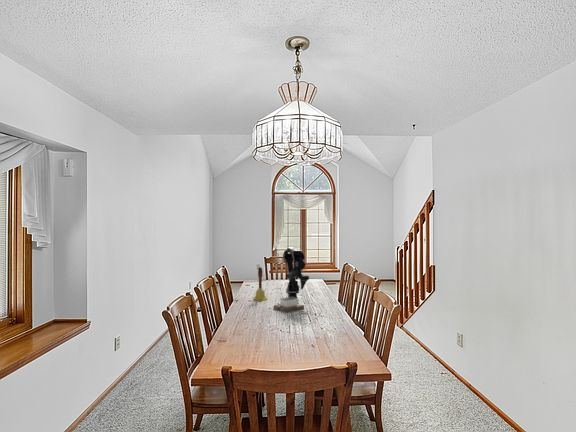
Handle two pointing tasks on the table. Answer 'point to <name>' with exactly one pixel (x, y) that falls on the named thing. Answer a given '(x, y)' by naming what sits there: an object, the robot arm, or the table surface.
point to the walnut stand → (288, 308)
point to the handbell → (260, 288)
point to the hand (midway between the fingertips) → (297, 288)
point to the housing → (288, 301)
